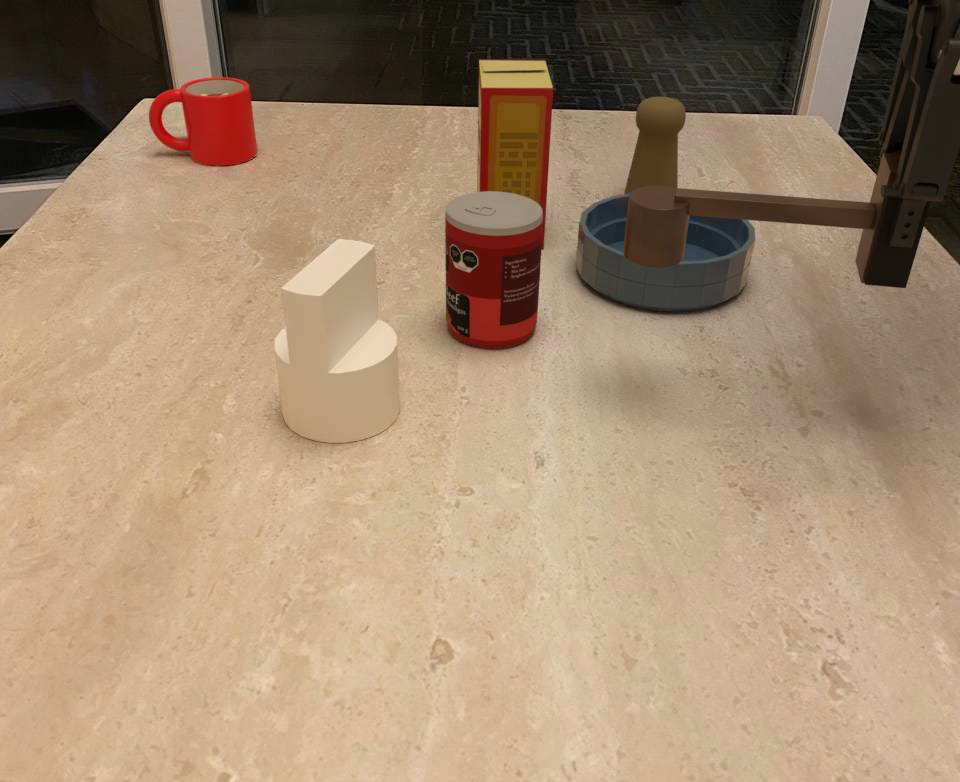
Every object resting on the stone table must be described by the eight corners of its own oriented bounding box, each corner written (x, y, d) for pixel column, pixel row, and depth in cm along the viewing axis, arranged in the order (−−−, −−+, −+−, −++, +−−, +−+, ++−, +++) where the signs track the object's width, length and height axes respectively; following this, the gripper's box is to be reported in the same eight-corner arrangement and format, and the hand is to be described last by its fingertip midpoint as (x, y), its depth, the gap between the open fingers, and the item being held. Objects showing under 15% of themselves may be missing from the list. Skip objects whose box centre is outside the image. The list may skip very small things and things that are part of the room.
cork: (662, 188, 114) (675, 88, 107) (687, 208, 109) (702, 106, 103) (613, 193, 112) (624, 93, 106) (637, 214, 108) (649, 111, 101)
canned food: (448, 306, 91) (447, 189, 84) (536, 308, 91) (542, 191, 84) (443, 349, 85) (442, 226, 78) (537, 352, 85) (544, 229, 78)
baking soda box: (543, 249, 101) (553, 85, 91) (478, 248, 100) (481, 84, 91) (537, 211, 108) (545, 56, 98) (476, 211, 108) (479, 55, 98)
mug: (159, 145, 122) (146, 78, 117) (258, 141, 124) (250, 75, 119) (151, 168, 116) (138, 99, 111) (256, 164, 117) (248, 96, 113)
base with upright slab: (369, 453, 73) (360, 305, 65) (260, 427, 75) (239, 282, 68) (417, 391, 79) (414, 251, 72) (316, 369, 82) (303, 231, 74)
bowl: (744, 247, 102) (753, 200, 99) (746, 323, 89) (757, 272, 86) (585, 232, 104) (589, 185, 101) (566, 304, 91) (570, 253, 88)
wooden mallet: (897, 262, 73) (928, 153, 68) (906, 289, 69) (939, 177, 64) (625, 239, 75) (636, 133, 70) (621, 265, 72) (632, 155, 67)
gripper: (894, -131, 64) (816, 218, 78) (941, -87, 51) (837, 322, 65) (1019, -127, 63) (916, 226, 77) (1099, -82, 50) (958, 332, 64)
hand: (880, 269), depth 71 cm, fingers closed on wooden mallet, 4 cm apart
